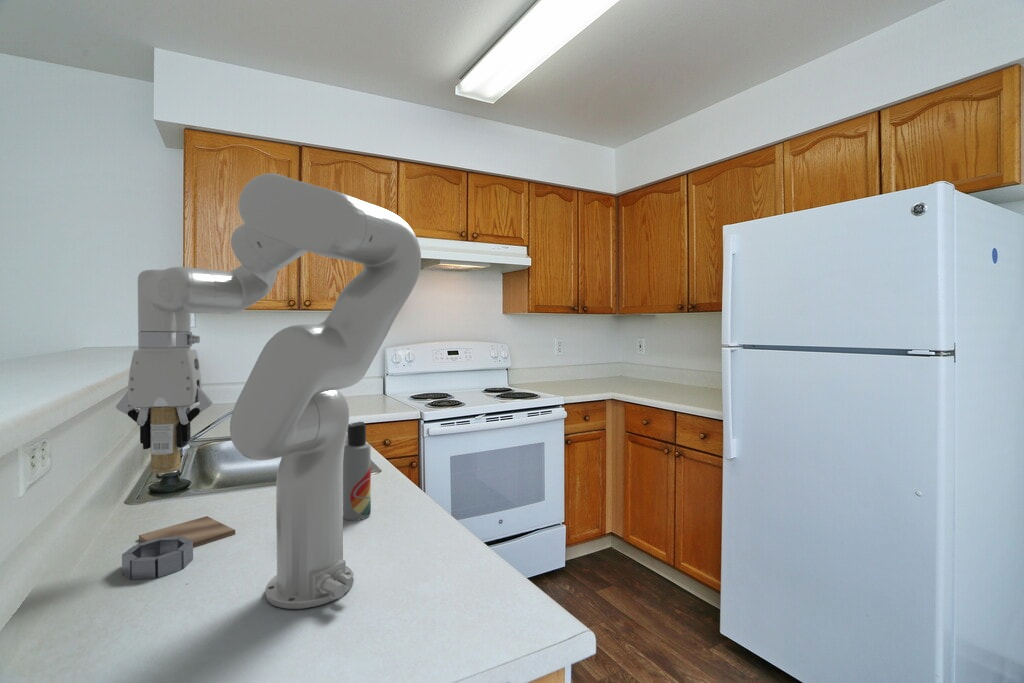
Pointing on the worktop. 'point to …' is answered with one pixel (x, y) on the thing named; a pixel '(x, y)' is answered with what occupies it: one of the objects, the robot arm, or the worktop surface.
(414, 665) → the worktop surface
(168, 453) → the sprinkles bottle
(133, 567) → the grey segmented ring
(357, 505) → the lotion bottle
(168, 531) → the walnut board
